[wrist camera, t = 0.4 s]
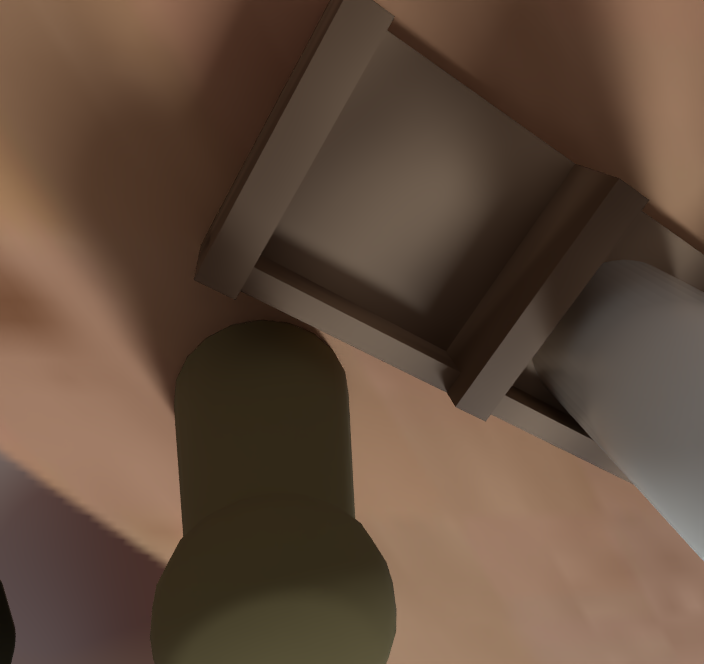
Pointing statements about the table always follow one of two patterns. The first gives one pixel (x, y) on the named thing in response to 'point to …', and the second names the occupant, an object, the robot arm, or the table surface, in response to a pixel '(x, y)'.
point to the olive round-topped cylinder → (269, 512)
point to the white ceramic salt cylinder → (638, 383)
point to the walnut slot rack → (425, 225)
